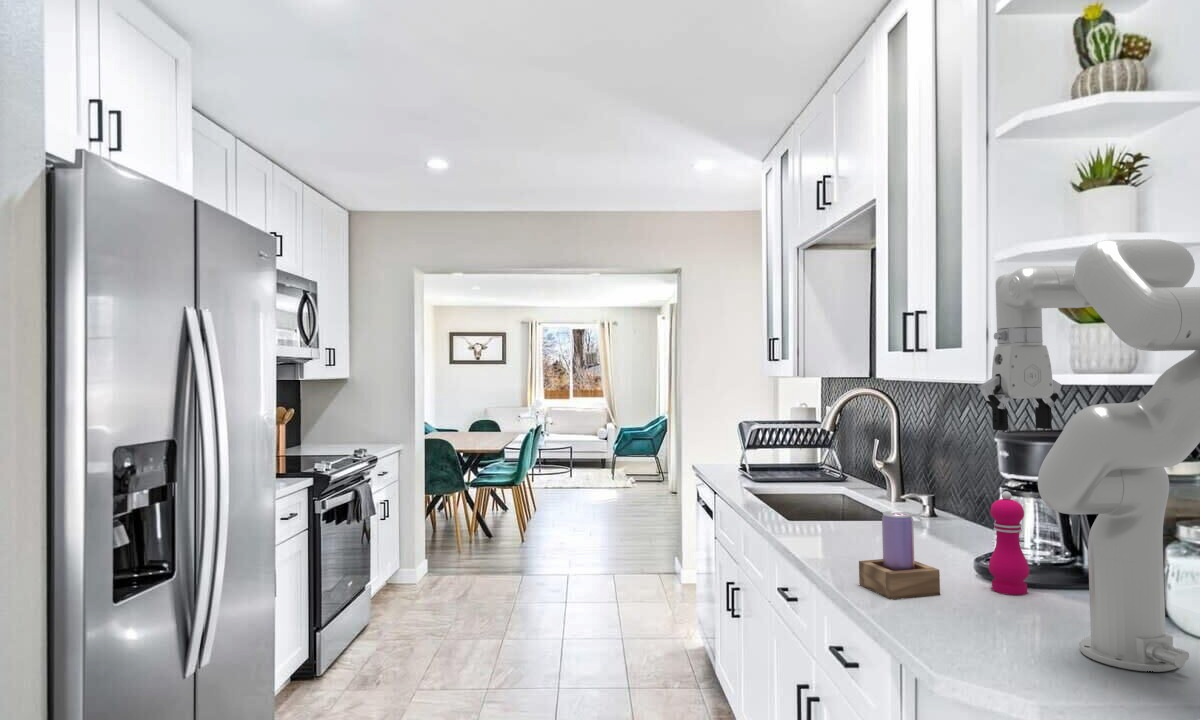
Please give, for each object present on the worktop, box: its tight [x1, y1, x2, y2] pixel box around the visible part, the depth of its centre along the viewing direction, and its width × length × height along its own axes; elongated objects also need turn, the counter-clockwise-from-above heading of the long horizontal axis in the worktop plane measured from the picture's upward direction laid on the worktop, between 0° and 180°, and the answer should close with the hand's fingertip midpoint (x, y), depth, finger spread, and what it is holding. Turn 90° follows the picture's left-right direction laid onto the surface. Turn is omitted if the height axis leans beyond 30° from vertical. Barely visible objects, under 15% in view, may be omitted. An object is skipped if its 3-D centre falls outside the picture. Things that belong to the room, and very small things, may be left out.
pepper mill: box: [988, 491, 1030, 596], centre depth 153 cm, size 7×7×20 cm
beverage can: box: [881, 510, 915, 571], centre depth 155 cm, size 6×6×15 cm
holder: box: [858, 558, 941, 600], centre depth 155 cm, size 11×11×5 cm
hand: (1022, 429), depth 142 cm, fingers open, 9 cm apart
